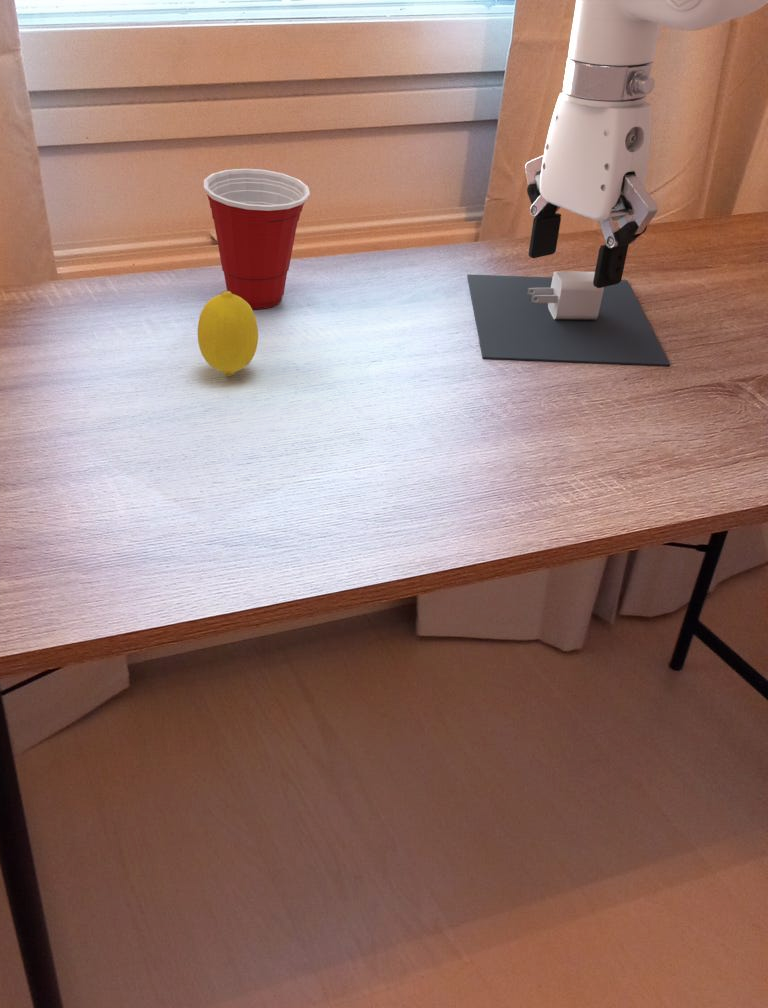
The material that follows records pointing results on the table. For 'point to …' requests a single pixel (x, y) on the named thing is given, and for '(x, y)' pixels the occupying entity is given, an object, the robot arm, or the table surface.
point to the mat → (560, 325)
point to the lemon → (227, 333)
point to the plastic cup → (255, 230)
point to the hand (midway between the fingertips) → (573, 269)
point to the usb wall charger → (571, 296)
